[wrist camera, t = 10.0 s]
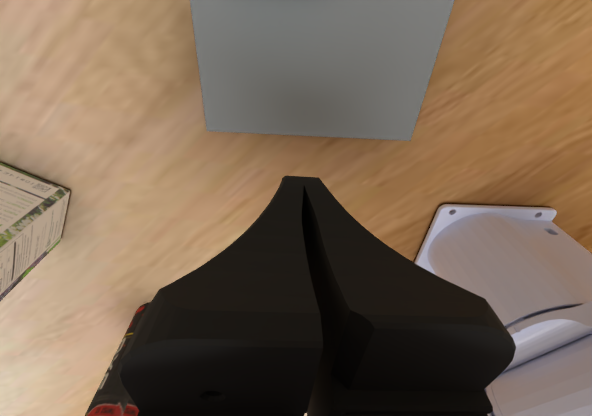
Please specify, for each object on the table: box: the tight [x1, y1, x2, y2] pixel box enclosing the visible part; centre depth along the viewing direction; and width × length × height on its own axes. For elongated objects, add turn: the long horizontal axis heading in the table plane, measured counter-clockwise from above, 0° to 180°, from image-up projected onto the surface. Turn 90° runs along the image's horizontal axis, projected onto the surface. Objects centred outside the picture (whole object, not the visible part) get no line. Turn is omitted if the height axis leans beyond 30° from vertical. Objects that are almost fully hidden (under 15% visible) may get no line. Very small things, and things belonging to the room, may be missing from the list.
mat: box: [190, 0, 454, 141], centre depth 14 cm, size 13×13×1 cm
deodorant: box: [85, 303, 150, 416], centre depth 23 cm, size 6×6×15 cm
